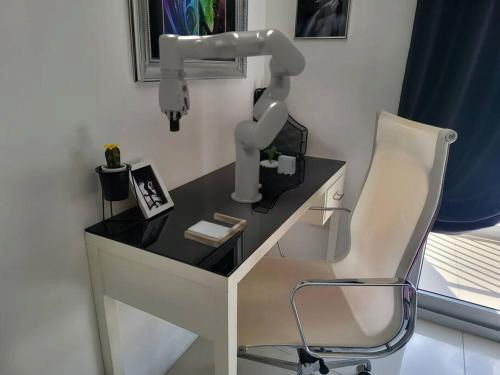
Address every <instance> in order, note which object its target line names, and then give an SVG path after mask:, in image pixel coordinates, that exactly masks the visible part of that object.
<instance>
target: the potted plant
mask: <svg viewBox="0 0 500 375" xmlns="http://www.w3.org/2000/svg"><path fill="white" fill-rule="evenodd" d="M263 152H264V154H265V153H267V155H268V159H265V160H261V161H260V164H259V166H261V165H262V166H261V167H264V166H265V167H264V168H278V167H277V166H278V160H273V158H274V155H275V154H278V155H279V156H282V155H283V154H284V153H282V151H280V152H279V151H277V150H276V146H275V145H272V147H271V148H270V149H269V148H268V149H267V150H264V151H263Z"/></svg>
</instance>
